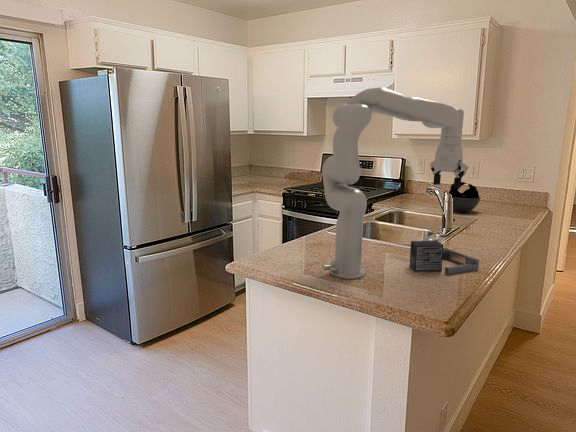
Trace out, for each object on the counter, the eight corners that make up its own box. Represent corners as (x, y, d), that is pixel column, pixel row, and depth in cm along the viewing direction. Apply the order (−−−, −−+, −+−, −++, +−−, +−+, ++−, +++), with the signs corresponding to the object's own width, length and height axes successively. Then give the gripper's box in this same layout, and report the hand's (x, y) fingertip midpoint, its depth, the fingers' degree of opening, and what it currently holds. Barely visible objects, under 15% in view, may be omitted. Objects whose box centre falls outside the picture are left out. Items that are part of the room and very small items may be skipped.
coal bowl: (444, 207, 281) (447, 179, 277) (477, 210, 274) (480, 181, 270) (444, 213, 262) (447, 183, 258) (480, 216, 256) (483, 185, 252)
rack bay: (447, 275, 155) (448, 264, 154) (416, 261, 170) (417, 251, 169) (478, 269, 161) (479, 259, 160) (445, 257, 176) (445, 247, 175)
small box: (435, 266, 164) (437, 240, 162) (442, 271, 158) (444, 244, 156) (408, 266, 164) (410, 240, 162) (414, 272, 158) (416, 245, 155)
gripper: (426, 140, 167) (422, 183, 171) (463, 142, 153) (458, 189, 157) (439, 140, 171) (435, 182, 175) (476, 142, 157) (472, 188, 160)
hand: (446, 186), depth 166 cm, fingers open, 9 cm apart
